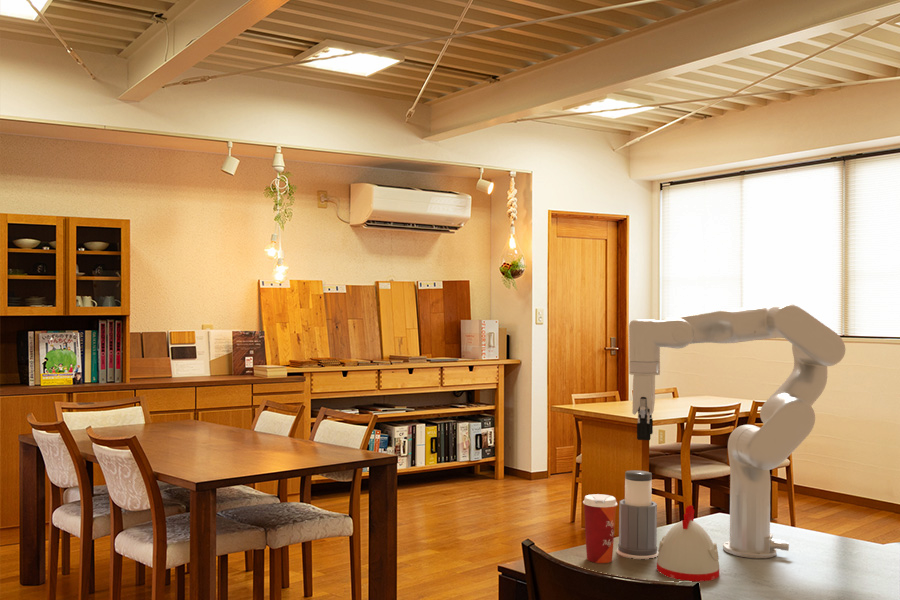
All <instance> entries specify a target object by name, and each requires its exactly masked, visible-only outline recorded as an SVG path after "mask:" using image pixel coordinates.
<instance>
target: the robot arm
mask: <svg viewBox="0 0 900 600" xmlns="http://www.w3.org/2000/svg"><path fill="white" fill-rule="evenodd" d="M769 339H785V340H787V341H788V342H789V343H791V344H792V345H791V350H792V355H793V363H794V364H793V369H792V371H791V373H790V374H789V376H787V378H786V380H785V381H784V382H783V383H782V384H781V385H780V386H779V387H778V388H777V389H776V390H775V391H774V392H773V394H771V395H770V397H768V398H767V399H766V400H765V402H764V403H763V404H762V406H761V408H760V411H759V415H760V420H761V422H762V424H763V425H762V426H761V427H760V426H756V425H754V424H743V425H739V426H738V427H736V428H734V429H733V430H732V432H731V433H730V435H729V437H728V440H727V454H728V461H729V473H730V474H729V475H730V476H729V480H730V481H729V483H730V485H729V487H730V488H729V540H728V541H725V542H724V543H722V549H723V551H725V552H726V553H728V554H731V555H733V556H737V557H742V558H747V559H770V558H773V557H775V556H776V555H777V550H781V551H786V552H789V548H790V543H789V542H786V541H785V540H781V539H775V538H773V534H774V533H771V485H772V484H771V482H772V481H771V473H770V470H773V469H776V468H777V467H779V466H780V465H782V464H783V463H784V462H785V461H786V460H787V459H788V458H789V457H790V456H791V454H793V452H795V450H796V449H797V448H798V447H800V445H801V444H802V443H803V442H804V441H805V440H806V439H807V437H808V436H809V435H810V434H811V432H812V431H813V429H814V426H815V423H816V413H815V410H814V408H813V405H814V404H815V402H816V401H817V400H818V399H819V398H820V397H821V395H823V394H822V393H823V392H824V391H825V388H826V385H827V382H828V367H832V366H835V365H837V364H838V363H841V361H842V360H843V358H844V357H845V354H846V345H845V342H844V340H843V339H842V337H841V336H840V335H839V334H838V333H837V332H835V330H832V329H831V328H830V327H828V326H827V325H826V324H824V323H822V321H820V320H818V319H817V318H816V317H814V316H813V315H811V313H809V312H807V311H806V310H804V309H803V308H801V307H800V306H798V305H795V304H792V303H773V304H765V305H757V306H755V305H754V306H748V307H739V308H731V309H721V310H718V311H717V310H716V311H711V312H706V313H700V314H698V313H697V314H690V315H689V314H688V315H682V316H681V315H680V316H673V317H672V316H671V317H664V318H661V319H660V320H656V319H648V318H647V319H646V318H645V319H643V318H642V319H640V318H639V319H637V318H636V319H632V320H630V322H629V324H628V360H629V361H628V365H629V367H628V369H629V370H628V371H629V373H628V374H629V375H631V376H633V377H632V412H631V413H632V414H633V415H636V414H637V422H636V440H638V441H650V440H652V439H651V438H652V437H651V436H652V435H653V433H654V432H653V431H654V430H653V426H654V425H653V422H654V421H653V419H654V418H653V414H654V410H655V403H656V402H655V401H656V376H660V375H661V361H660V360H661V355H660V354H661V349H660V348H668V349H669V348H670V349H677V350H679V349H684V348H686V347H688V346H689V345H692V344H705V343H706V344H707V343H711V344H712V343H713V344H737V343H744V342H753V341H761V340H762V341H763V340H769Z"/></svg>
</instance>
